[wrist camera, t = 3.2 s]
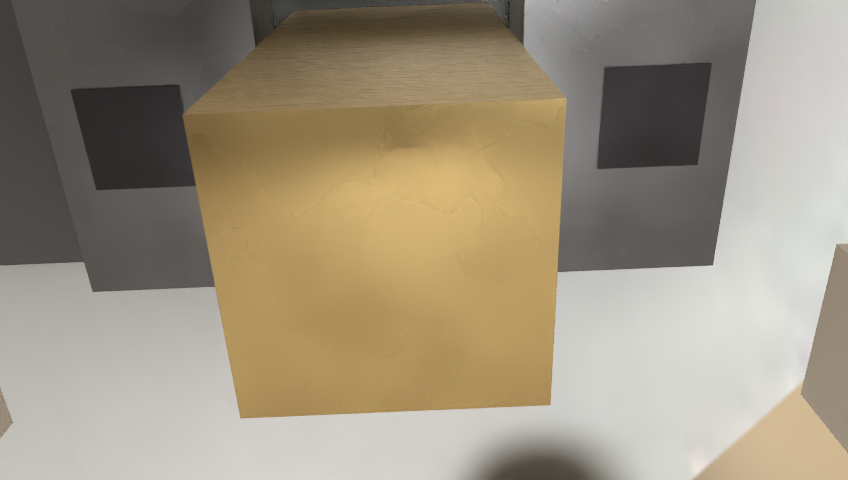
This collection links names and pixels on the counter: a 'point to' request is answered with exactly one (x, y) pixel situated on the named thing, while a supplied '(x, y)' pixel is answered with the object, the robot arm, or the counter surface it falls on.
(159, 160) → the grey slotted block
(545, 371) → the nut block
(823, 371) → the robot arm
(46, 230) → the pad
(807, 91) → the counter surface
